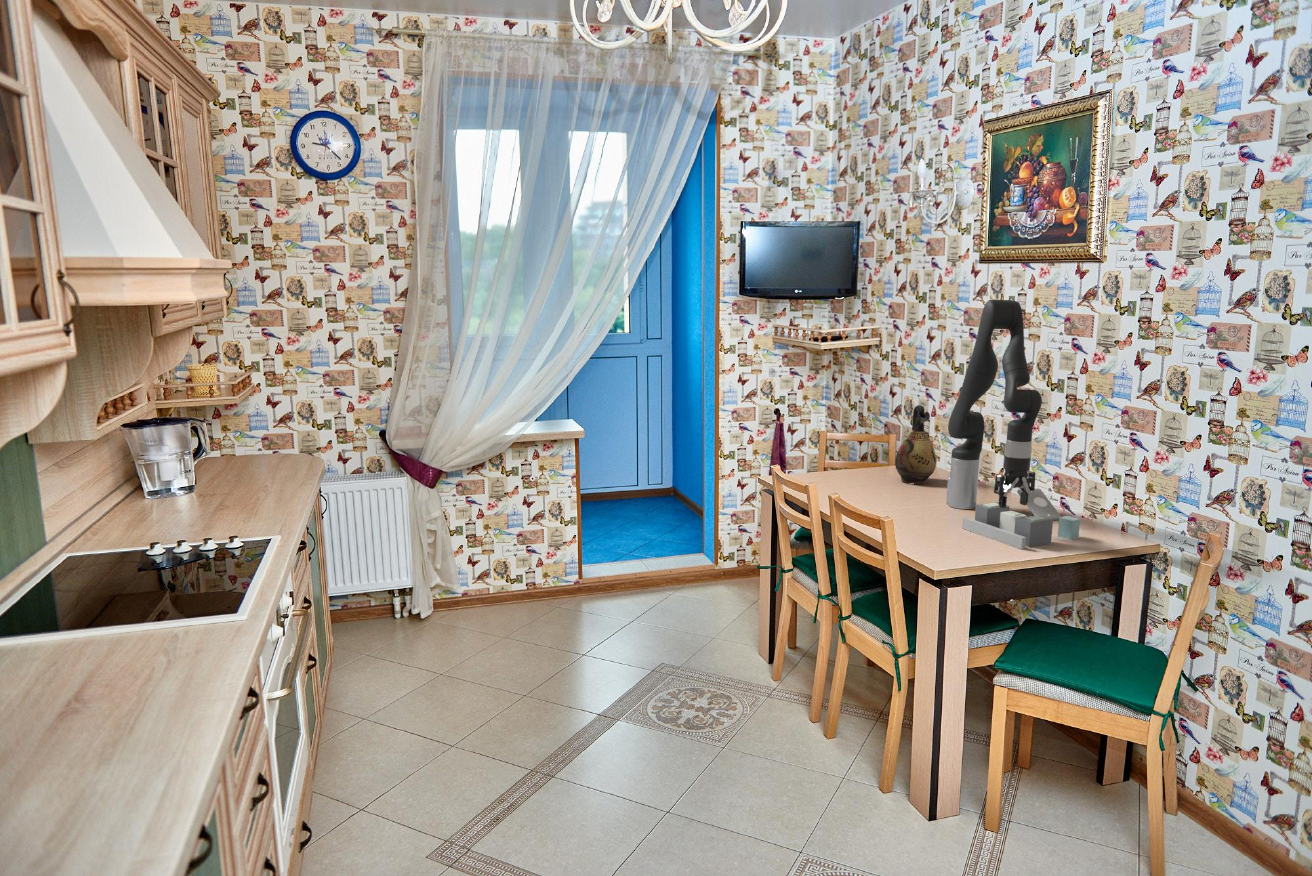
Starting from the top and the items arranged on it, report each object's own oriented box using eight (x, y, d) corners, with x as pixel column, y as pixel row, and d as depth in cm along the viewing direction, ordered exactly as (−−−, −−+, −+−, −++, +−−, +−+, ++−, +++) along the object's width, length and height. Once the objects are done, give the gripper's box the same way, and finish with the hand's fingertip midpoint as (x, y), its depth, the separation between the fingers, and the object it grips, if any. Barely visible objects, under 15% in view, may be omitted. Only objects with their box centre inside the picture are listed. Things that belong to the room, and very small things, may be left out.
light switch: (1040, 516, 288) (1018, 487, 299) (1033, 529, 292) (1012, 500, 303) (1063, 515, 290) (1041, 486, 301) (1056, 528, 293) (1034, 499, 304)
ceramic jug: (940, 486, 338) (945, 409, 332) (899, 486, 338) (904, 408, 333) (927, 476, 354) (931, 402, 349) (888, 476, 354) (892, 402, 349)
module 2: (1057, 536, 272) (1059, 517, 271) (1064, 534, 274) (1066, 515, 273) (1071, 540, 268) (1072, 520, 267) (1078, 537, 270) (1080, 519, 269)
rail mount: (962, 528, 279) (963, 504, 278) (993, 524, 285) (995, 500, 283) (1021, 549, 258) (1023, 523, 257) (1053, 544, 263) (1055, 519, 262)
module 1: (998, 533, 274) (1000, 511, 273) (1009, 532, 276) (1011, 509, 274) (1013, 539, 269) (1015, 515, 267) (1024, 537, 270) (1026, 514, 269)
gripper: (1025, 450, 274) (1020, 500, 277) (990, 453, 268) (986, 505, 271) (1044, 455, 267) (1039, 506, 270) (1009, 459, 261) (1004, 511, 265)
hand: (1012, 506), depth 271 cm, fingers open, 8 cm apart
